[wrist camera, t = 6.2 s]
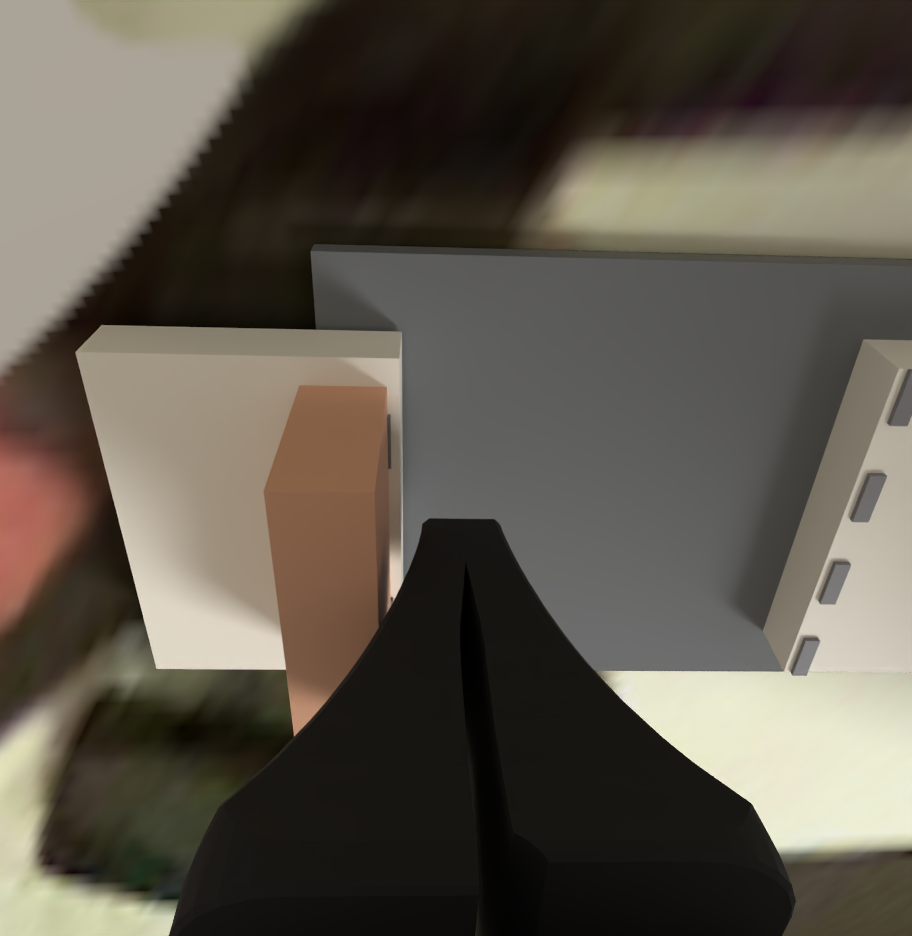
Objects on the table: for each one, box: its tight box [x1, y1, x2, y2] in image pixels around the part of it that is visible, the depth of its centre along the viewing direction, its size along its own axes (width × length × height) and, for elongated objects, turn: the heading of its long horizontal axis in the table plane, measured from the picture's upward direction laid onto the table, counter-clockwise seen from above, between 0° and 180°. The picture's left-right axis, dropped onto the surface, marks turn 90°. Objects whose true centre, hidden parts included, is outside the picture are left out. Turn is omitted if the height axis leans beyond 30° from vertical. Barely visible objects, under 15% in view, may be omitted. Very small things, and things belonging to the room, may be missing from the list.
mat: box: [311, 244, 912, 671], centre depth 15 cm, size 18×10×1 cm, turn 88°
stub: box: [75, 325, 403, 736], centre depth 13 cm, size 5×7×4 cm
